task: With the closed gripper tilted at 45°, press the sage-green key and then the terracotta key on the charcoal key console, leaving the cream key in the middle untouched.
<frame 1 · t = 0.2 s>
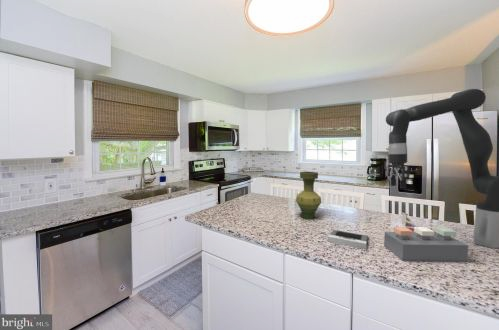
hand: (398, 187, 109), 28 cm above the worktop, tool pointing down, fingers open, 8 cm apart
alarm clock: (348, 240, 117), on the worktop
terracotta key: (402, 234, 101), point 8 cm above the worktop, slide at 0.0 cm
vase: (308, 217, 152), on the worktop
key console: (422, 253, 102), on the worktop
calculator: (412, 238, 118), on the worktop
cream key: (423, 235, 101), point 8 cm above the worktop, slide at 0.0 cm
sage key: (444, 235, 101), point 8 cm above the worktop, slide at 0.0 cm
architectural model: (405, 225, 137), on the worktop
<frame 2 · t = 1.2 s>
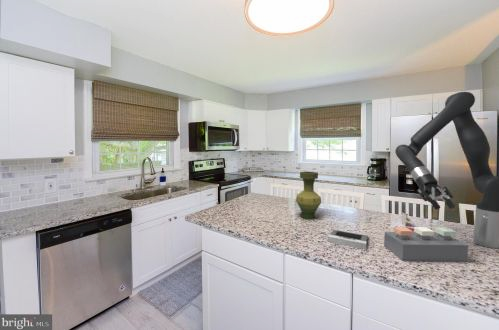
hand: (445, 208, 100), 20 cm above the worktop, tool tilted 45°, fingers open, 6 cm apart
nothing on the worktop moved.
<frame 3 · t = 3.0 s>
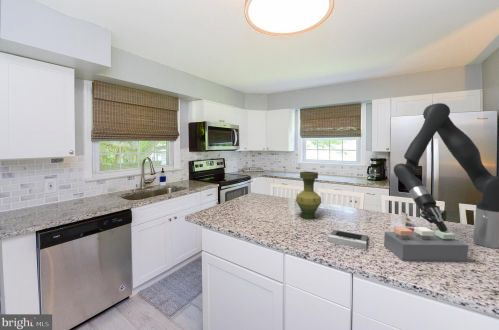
hand: (444, 231, 100), 10 cm above the worktop, tool tilted 45°, fingers closed
sage key: (444, 238, 101), point 7 cm above the worktop, slide at 1.3 cm, touching gripper
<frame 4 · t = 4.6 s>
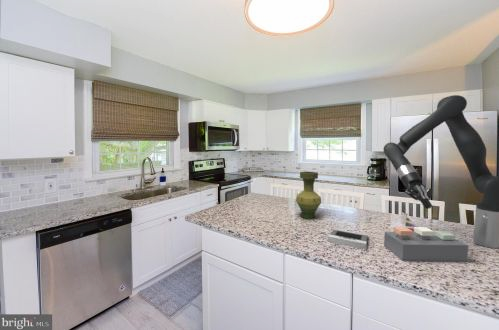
hand: (429, 207, 100), 21 cm above the worktop, tool tilted 45°, fingers closed
sage key: (444, 239, 101), point 7 cm above the worktop, slide at 1.7 cm
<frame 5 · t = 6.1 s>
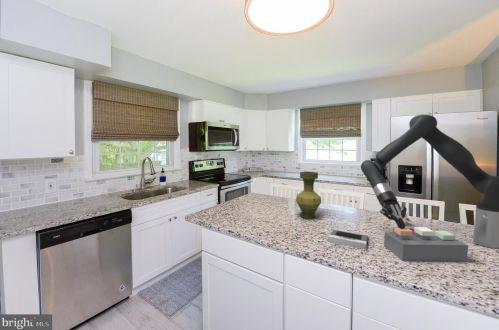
hand: (402, 227, 101), 12 cm above the worktop, tool tilted 45°, fingers closed
terracotta key: (402, 235, 101), point 8 cm above the worktop, slide at 0.0 cm, touching gripper
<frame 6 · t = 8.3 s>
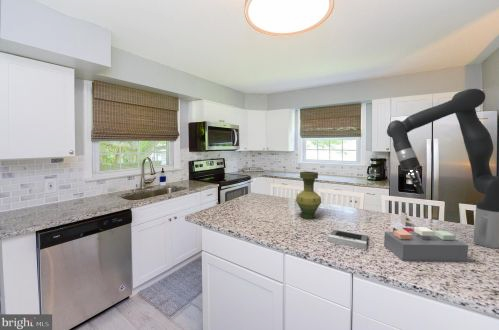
hand: (421, 194, 105), 25 cm above the worktop, tool tilted 25°, fingers closed
terracotta key: (402, 238, 101), point 7 cm above the worktop, slide at 1.6 cm
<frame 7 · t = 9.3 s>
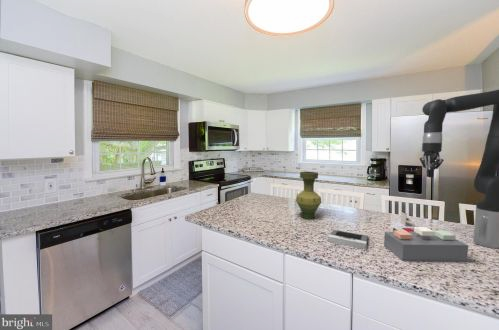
hand: (429, 177, 113), 32 cm above the worktop, tool pointing down, fingers closed
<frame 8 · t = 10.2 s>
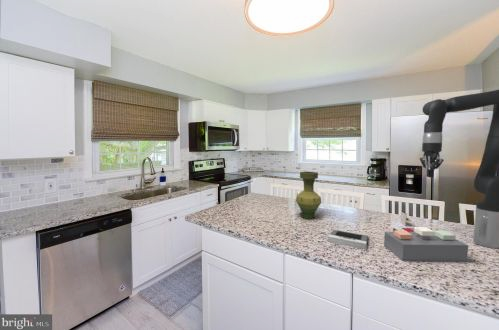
hand: (429, 177, 113), 32 cm above the worktop, tool pointing down, fingers closed
at the end: sage key slide at 1.7 cm; terracotta key slide at 1.6 cm; cream key slide at 0.0 cm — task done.
